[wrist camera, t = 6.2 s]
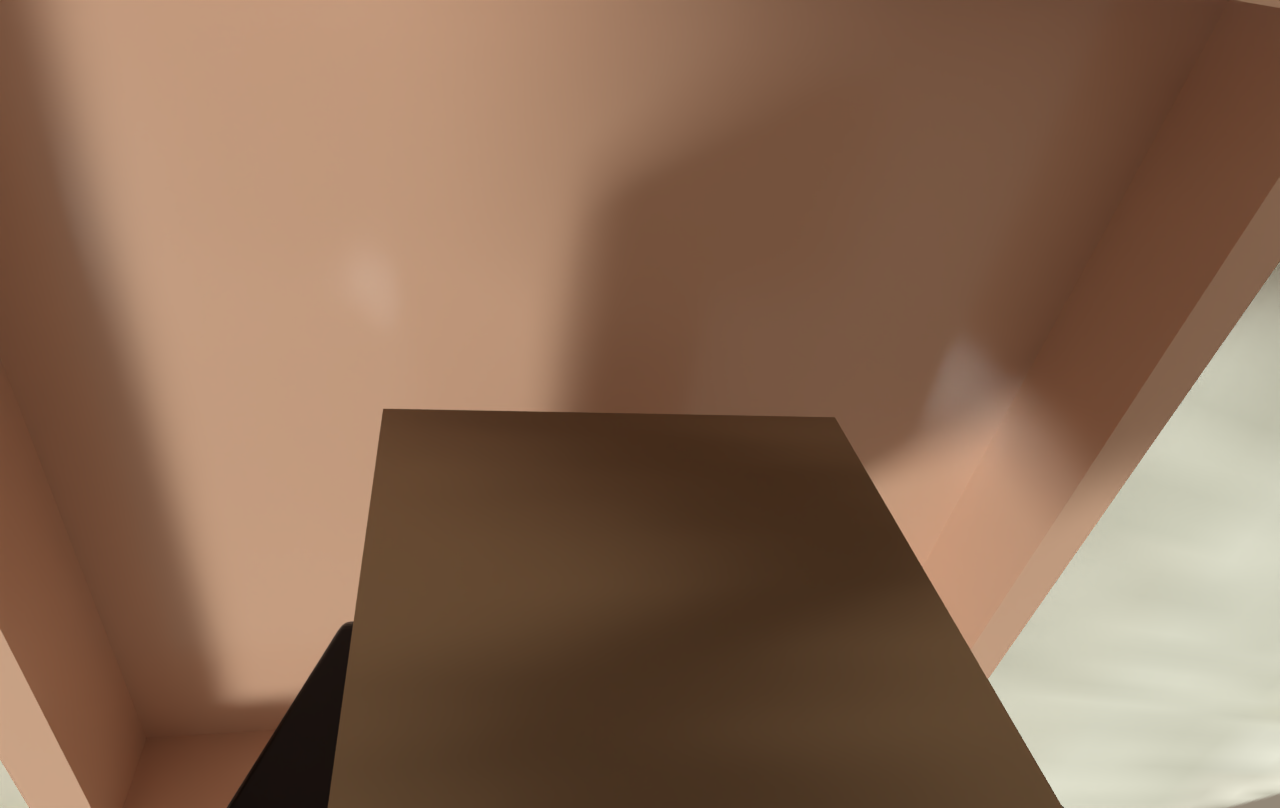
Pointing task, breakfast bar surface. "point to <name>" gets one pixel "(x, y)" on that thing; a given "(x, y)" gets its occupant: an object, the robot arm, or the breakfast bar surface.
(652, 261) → the terracotta dish
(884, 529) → the walnut cube
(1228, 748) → the breakfast bar surface
